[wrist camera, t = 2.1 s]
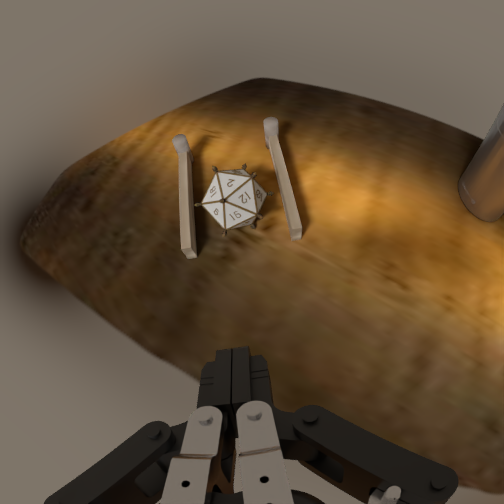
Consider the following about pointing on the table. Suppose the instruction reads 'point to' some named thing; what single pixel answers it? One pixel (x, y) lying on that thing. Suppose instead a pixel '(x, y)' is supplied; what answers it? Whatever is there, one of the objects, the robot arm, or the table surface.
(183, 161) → the chute
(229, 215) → the game die
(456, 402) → the table surface
